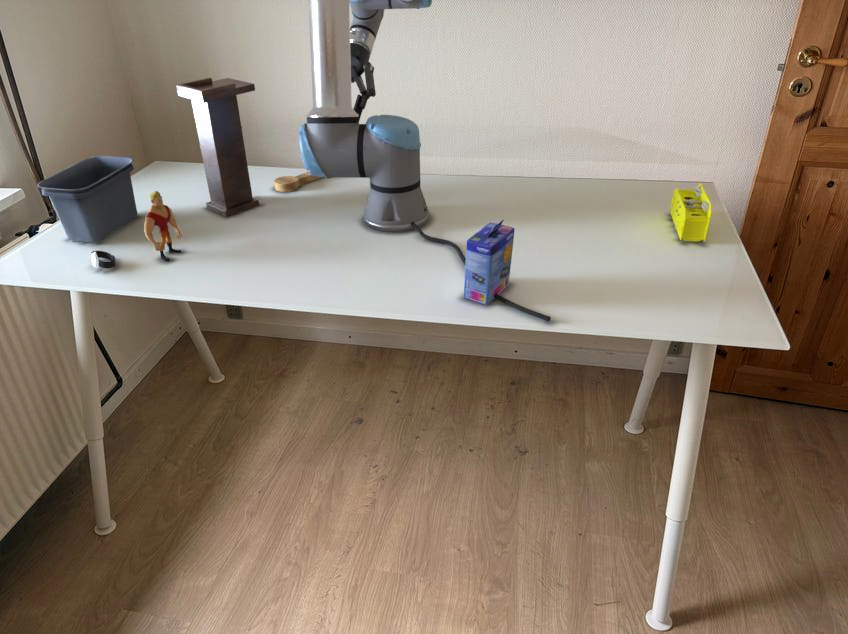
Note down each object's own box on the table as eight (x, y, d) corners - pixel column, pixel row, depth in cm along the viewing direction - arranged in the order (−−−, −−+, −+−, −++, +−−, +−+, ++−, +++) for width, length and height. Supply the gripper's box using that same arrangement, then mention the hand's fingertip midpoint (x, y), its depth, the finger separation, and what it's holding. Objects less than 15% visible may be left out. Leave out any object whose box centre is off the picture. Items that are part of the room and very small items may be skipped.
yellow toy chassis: (706, 245, 144) (715, 207, 139) (678, 243, 145) (686, 206, 140) (694, 215, 157) (702, 180, 152) (667, 214, 158) (675, 179, 153)
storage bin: (98, 250, 155) (80, 189, 147) (43, 243, 159) (22, 184, 151) (153, 214, 171) (139, 158, 163) (102, 209, 176) (85, 154, 168)
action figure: (163, 266, 146) (147, 199, 138) (150, 264, 148) (132, 197, 139) (189, 248, 154) (175, 183, 145) (176, 246, 155) (161, 182, 146)
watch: (87, 263, 150) (83, 247, 147) (108, 256, 152) (104, 241, 150) (101, 274, 145) (96, 258, 142) (122, 267, 147) (117, 252, 145)
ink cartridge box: (488, 306, 126) (492, 234, 118) (462, 299, 129) (464, 228, 121) (511, 284, 133) (516, 214, 125) (486, 278, 136) (489, 209, 128)
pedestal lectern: (246, 193, 181) (227, 73, 164) (271, 202, 174) (253, 79, 158) (201, 208, 173) (175, 84, 156) (225, 219, 167) (201, 91, 150)
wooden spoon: (331, 167, 196) (331, 159, 194) (346, 171, 192) (346, 164, 190) (270, 188, 183) (269, 180, 182) (285, 194, 179) (283, 185, 178)
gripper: (315, 46, 190) (292, 115, 188) (387, 36, 176) (363, 110, 173) (331, 62, 196) (309, 129, 194) (401, 54, 182) (379, 126, 179)
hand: (335, 121), depth 183 cm, fingers open, 13 cm apart
